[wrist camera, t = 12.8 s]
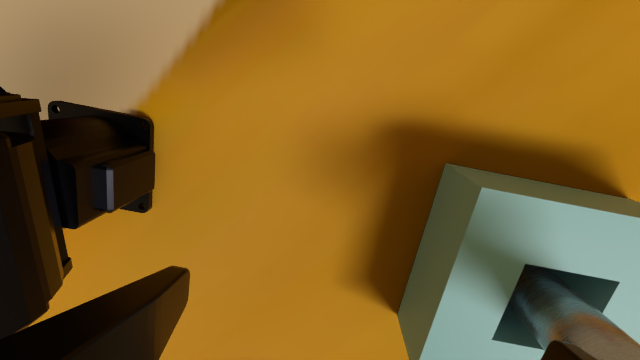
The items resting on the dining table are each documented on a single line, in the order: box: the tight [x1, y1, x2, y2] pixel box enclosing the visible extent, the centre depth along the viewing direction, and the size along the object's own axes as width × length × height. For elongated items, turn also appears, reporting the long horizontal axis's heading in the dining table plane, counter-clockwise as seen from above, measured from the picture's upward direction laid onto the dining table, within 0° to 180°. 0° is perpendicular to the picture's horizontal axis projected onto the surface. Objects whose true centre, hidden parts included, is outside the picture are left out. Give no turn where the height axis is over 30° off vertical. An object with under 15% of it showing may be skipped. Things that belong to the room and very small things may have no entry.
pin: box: [508, 264, 640, 360], centre depth 15 cm, size 4×4×13 cm
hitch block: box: [397, 163, 640, 360], centre depth 19 cm, size 12×12×5 cm
